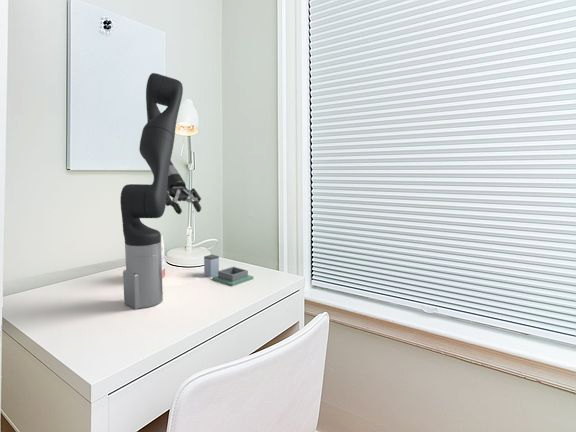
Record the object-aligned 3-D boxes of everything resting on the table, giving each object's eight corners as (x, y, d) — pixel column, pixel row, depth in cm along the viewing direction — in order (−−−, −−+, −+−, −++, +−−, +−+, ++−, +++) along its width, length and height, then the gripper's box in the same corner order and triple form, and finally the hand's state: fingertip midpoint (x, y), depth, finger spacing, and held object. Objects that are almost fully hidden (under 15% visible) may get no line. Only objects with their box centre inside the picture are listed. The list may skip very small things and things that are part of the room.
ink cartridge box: (151, 275, 118) (150, 234, 116) (165, 275, 117) (164, 235, 116) (140, 283, 109) (138, 239, 107) (155, 284, 109) (154, 240, 107)
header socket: (232, 286, 109) (232, 277, 108) (212, 279, 115) (212, 271, 114) (253, 278, 116) (253, 270, 116) (233, 272, 122) (233, 265, 122)
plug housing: (210, 277, 117) (210, 258, 116) (204, 275, 119) (204, 256, 118) (218, 275, 120) (218, 256, 119) (212, 273, 122) (212, 254, 121)
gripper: (158, 172, 121) (177, 206, 116) (190, 173, 132) (210, 204, 127) (150, 186, 125) (169, 220, 120) (183, 185, 136) (201, 216, 131)
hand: (190, 211), depth 124 cm, fingers open, 8 cm apart
